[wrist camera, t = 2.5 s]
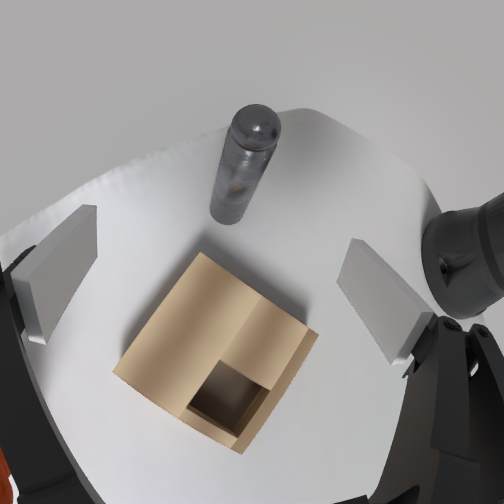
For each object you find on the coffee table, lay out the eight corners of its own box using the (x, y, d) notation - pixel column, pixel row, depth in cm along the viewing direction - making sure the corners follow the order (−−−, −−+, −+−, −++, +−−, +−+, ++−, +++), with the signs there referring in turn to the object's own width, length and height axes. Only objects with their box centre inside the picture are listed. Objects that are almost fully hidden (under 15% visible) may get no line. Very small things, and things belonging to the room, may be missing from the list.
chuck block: (305, 336, 27) (319, 334, 24) (235, 443, 22) (241, 454, 19) (198, 261, 27) (200, 251, 24) (119, 368, 22) (112, 371, 19)
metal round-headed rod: (250, 206, 30) (298, 113, 17) (231, 231, 28) (271, 141, 16) (223, 187, 30) (254, 86, 17) (202, 211, 28) (222, 111, 16)
